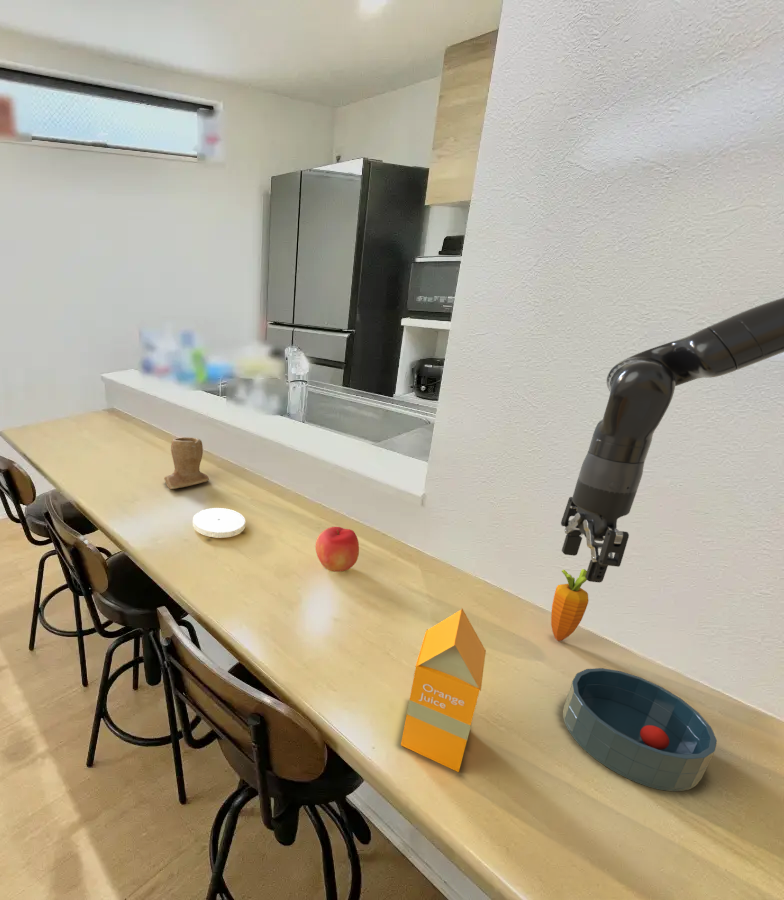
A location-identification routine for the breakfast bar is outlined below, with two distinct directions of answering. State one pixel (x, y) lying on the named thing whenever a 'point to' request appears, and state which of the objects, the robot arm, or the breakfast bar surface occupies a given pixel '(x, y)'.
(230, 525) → the plastic lid
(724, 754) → the breakfast bar surface
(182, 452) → the stone cup
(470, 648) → the orange juice
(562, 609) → the carrot
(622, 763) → the bowl
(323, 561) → the apple
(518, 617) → the breakfast bar surface
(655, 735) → the ball
